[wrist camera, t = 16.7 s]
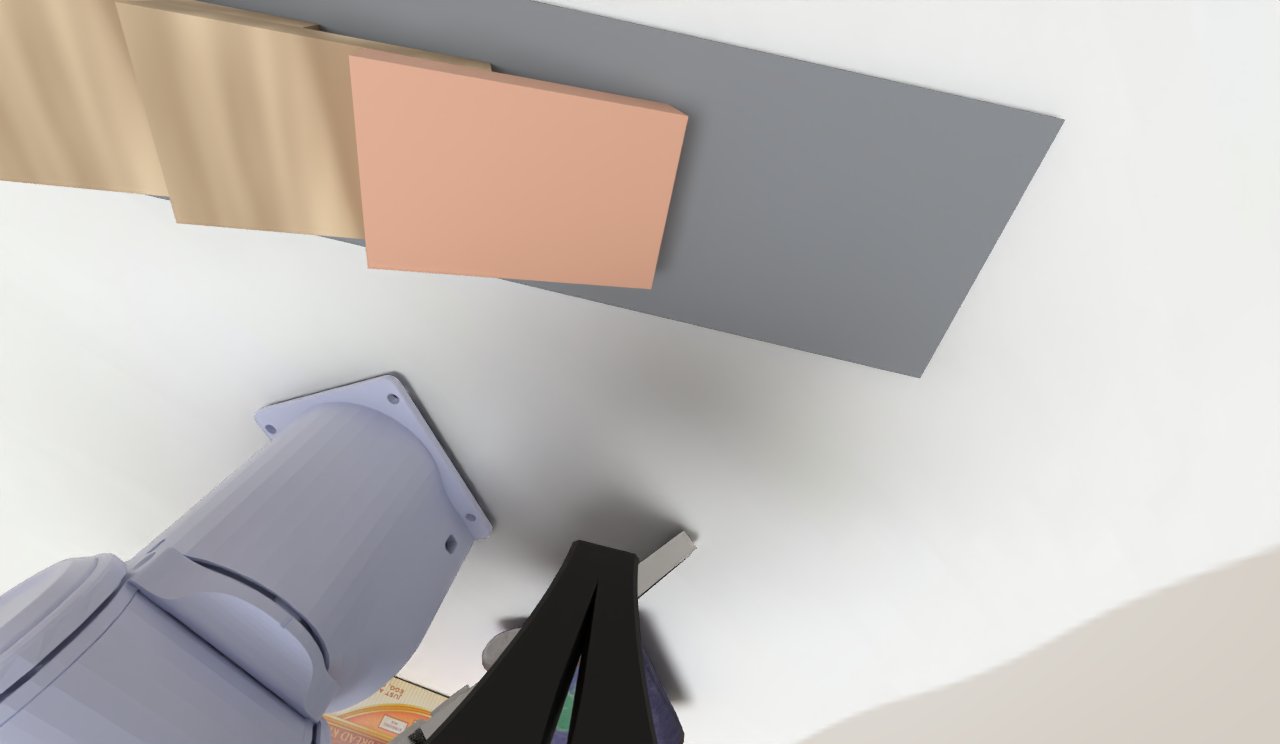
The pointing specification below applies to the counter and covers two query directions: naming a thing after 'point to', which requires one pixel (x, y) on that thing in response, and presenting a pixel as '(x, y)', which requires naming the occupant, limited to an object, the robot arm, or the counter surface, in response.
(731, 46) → the mat
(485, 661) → the navy pouch
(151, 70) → the domino
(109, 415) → the counter surface
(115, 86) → the domino
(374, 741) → the coffeecake box
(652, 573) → the smartphone
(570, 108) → the domino
